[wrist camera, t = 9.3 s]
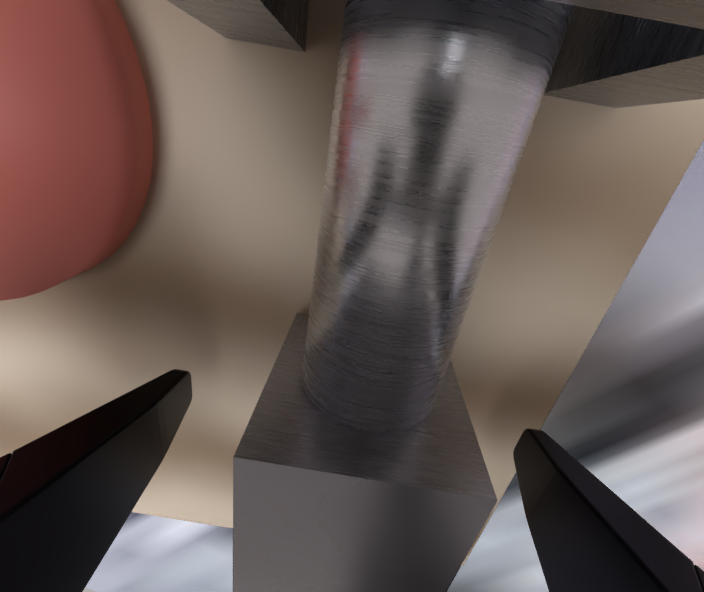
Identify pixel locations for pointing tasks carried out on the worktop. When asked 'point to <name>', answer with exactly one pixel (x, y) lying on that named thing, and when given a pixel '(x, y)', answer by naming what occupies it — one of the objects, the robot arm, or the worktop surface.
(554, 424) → the worktop surface
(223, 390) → the base board
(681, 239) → the worktop surface
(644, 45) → the eye post
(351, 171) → the grey rod with block
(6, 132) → the handwheel
